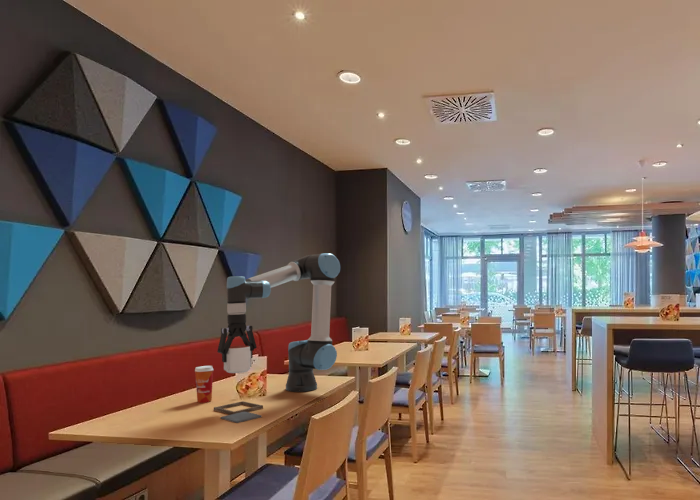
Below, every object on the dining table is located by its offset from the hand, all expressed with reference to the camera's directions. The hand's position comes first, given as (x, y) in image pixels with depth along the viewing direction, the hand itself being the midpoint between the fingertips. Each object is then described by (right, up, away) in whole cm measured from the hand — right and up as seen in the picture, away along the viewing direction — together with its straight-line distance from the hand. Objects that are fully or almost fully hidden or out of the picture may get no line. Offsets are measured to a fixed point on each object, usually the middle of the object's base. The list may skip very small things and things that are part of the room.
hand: (237, 368), depth 215 cm
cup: (0, -2, 0) cm, 2 cm away
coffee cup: (-18, -19, +17) cm, 31 cm away
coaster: (+5, -15, -16) cm, 22 cm away
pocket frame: (0, -16, -1) cm, 16 cm away
